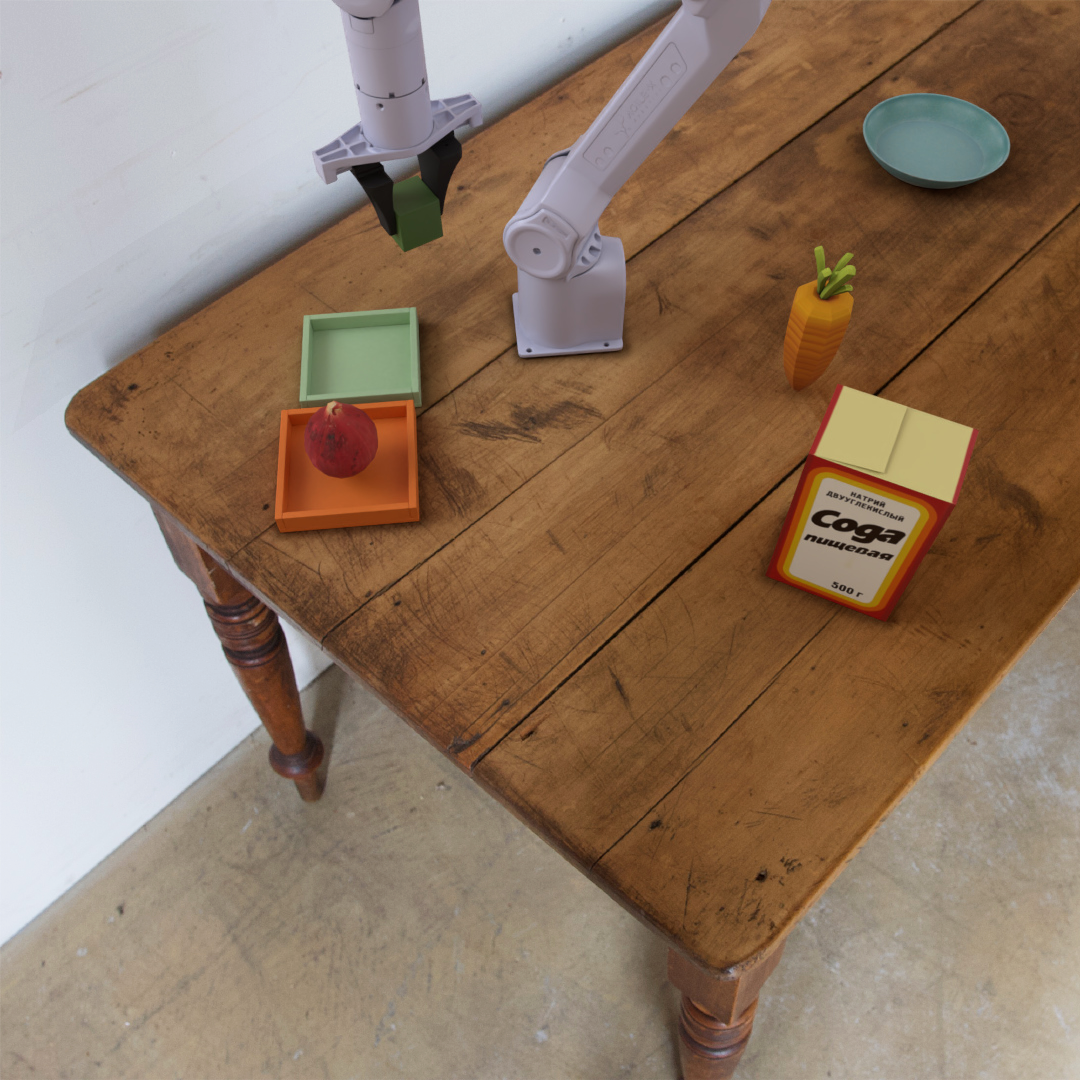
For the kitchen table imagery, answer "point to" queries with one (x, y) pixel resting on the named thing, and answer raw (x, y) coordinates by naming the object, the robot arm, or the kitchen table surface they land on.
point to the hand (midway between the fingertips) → (412, 219)
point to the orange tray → (353, 500)
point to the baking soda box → (870, 501)
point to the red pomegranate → (340, 440)
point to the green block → (415, 214)
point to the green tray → (360, 357)
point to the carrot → (818, 322)
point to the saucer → (935, 140)
